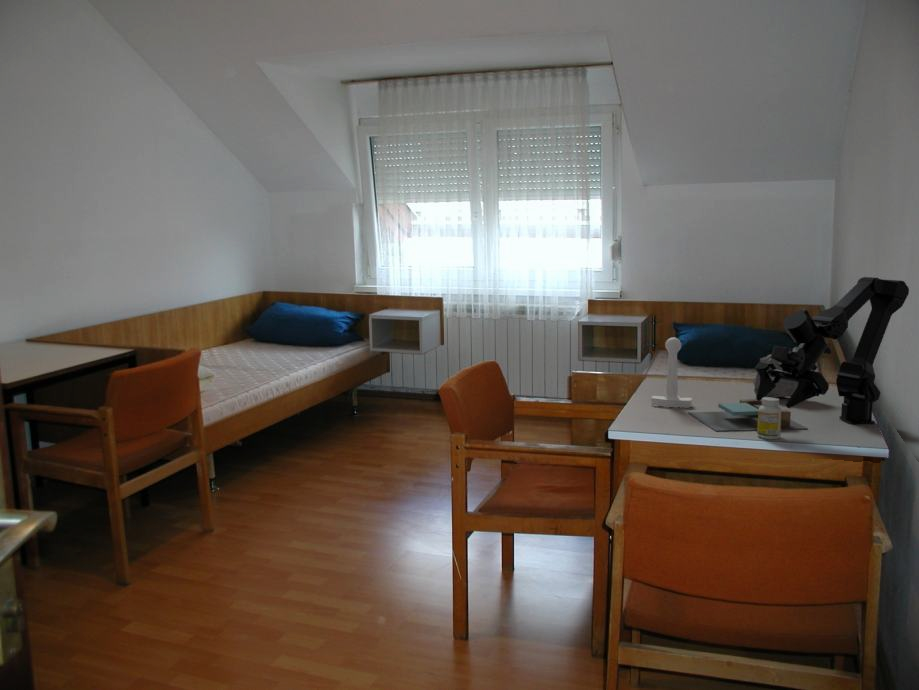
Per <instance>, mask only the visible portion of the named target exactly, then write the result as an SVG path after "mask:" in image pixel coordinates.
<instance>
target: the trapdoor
mask: <svg viewBox="0 0 919 690" xmlns="http://www.w3.org/2000/svg"><path fill="white" fill-rule="evenodd" d="M760 406H763V405H753V406H751V405H749V404H747V403H740V402H723V403H718V408H719V409H721V410H723V411H726V412H728V413H730V414H731V415H733V416H738V415H758V410H759V407H760Z"/></svg>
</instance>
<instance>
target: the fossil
mask: <svg viewBox="0 0 919 690" xmlns="http://www.w3.org/2000/svg"><path fill="white" fill-rule="evenodd" d="M771 354H772V353H771ZM771 354H768V355H766V356H764V357H761V358H759V362H768V363H773V364H774V366H775V367H776V369H777V370H782V367H780V366H779V365H778V363H779V362H778V361H777V360H775V359H771V358H770V357H771ZM811 371H815V370H811ZM753 385H754V389H753V391H754V394H755V397H757V393H758V389H759V385H760V376H759V375H758V373H757V372H756V373H755V377H753ZM775 385H776V387H775V388H774V389H773V390H772V391H770V392H769V393H768V394H767V395H766V396H765V397H773V398H787V397H788V398H790V397H791V396H792V394H793V393H794V391H795V390H796V388H797V387H798V382H793V381H790V380H785V379H780V381H779V382H778V383H776V384H775Z"/></svg>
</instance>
